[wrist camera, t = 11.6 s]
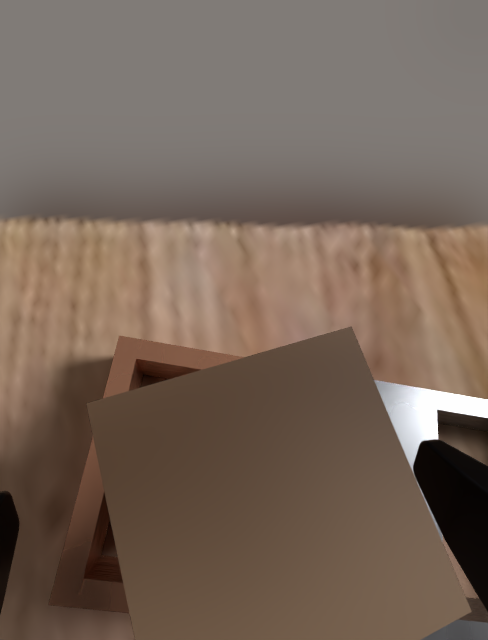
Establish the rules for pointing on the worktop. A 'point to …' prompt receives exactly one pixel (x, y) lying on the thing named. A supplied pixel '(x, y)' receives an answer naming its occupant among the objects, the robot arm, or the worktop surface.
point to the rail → (173, 361)
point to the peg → (271, 504)
